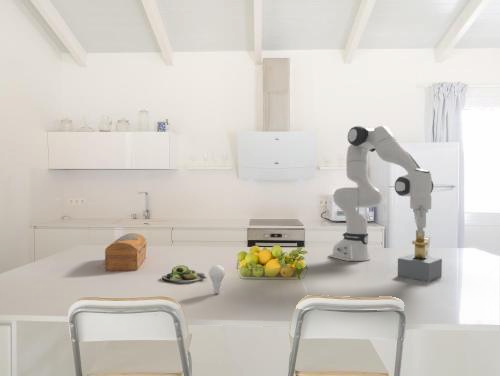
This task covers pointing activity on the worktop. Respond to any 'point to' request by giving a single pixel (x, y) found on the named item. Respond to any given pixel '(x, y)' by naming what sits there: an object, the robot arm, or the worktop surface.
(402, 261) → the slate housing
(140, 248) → the wooden box
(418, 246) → the brass knob plunger
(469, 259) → the worktop surface
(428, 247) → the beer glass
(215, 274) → the lightbulb
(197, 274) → the salad plate
